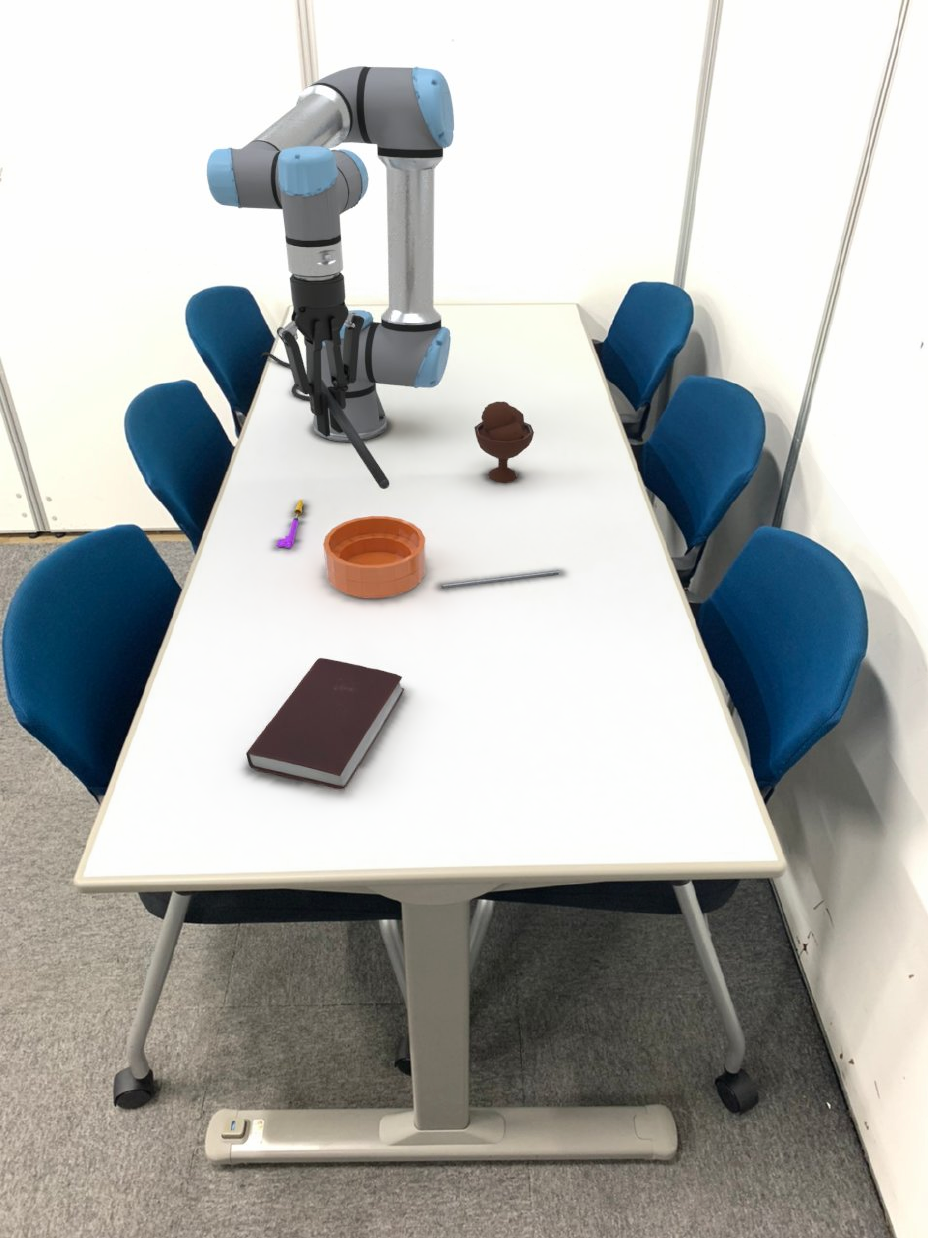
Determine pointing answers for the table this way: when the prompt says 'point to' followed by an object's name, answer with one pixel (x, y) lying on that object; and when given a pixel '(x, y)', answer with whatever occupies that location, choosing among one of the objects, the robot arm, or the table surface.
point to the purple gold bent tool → (290, 538)
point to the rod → (500, 579)
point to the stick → (355, 439)
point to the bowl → (375, 556)
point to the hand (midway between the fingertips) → (330, 431)
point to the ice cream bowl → (503, 437)
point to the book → (327, 723)
